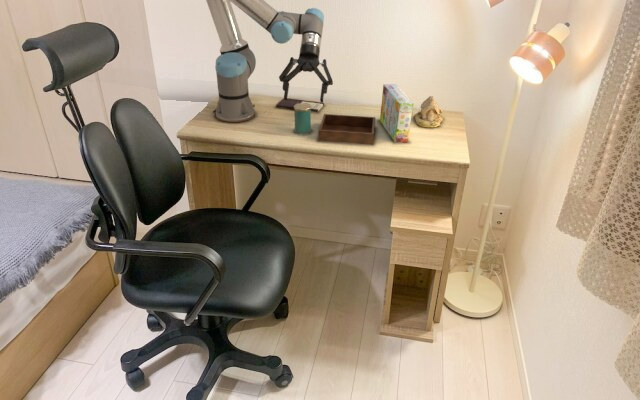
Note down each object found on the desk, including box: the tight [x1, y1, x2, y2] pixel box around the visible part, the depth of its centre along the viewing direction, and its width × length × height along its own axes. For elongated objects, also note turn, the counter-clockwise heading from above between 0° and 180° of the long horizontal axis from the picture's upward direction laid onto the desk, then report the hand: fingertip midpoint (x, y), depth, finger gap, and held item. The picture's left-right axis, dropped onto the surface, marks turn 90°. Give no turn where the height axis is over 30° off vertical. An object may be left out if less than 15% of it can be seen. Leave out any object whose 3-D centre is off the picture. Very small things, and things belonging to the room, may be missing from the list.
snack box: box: [379, 83, 414, 143], centre depth 177 cm, size 21×6×15 cm, turn 9°
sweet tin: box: [293, 103, 312, 135], centre depth 177 cm, size 6×6×10 cm
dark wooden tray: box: [318, 113, 376, 145], centre depth 177 cm, size 20×16×4 cm
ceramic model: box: [414, 95, 444, 128], centre depth 187 cm, size 14×11×10 cm
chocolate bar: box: [275, 97, 325, 113], centre depth 201 cm, size 9×1×18 cm
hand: (303, 99), depth 178 cm, fingers open, 13 cm apart
